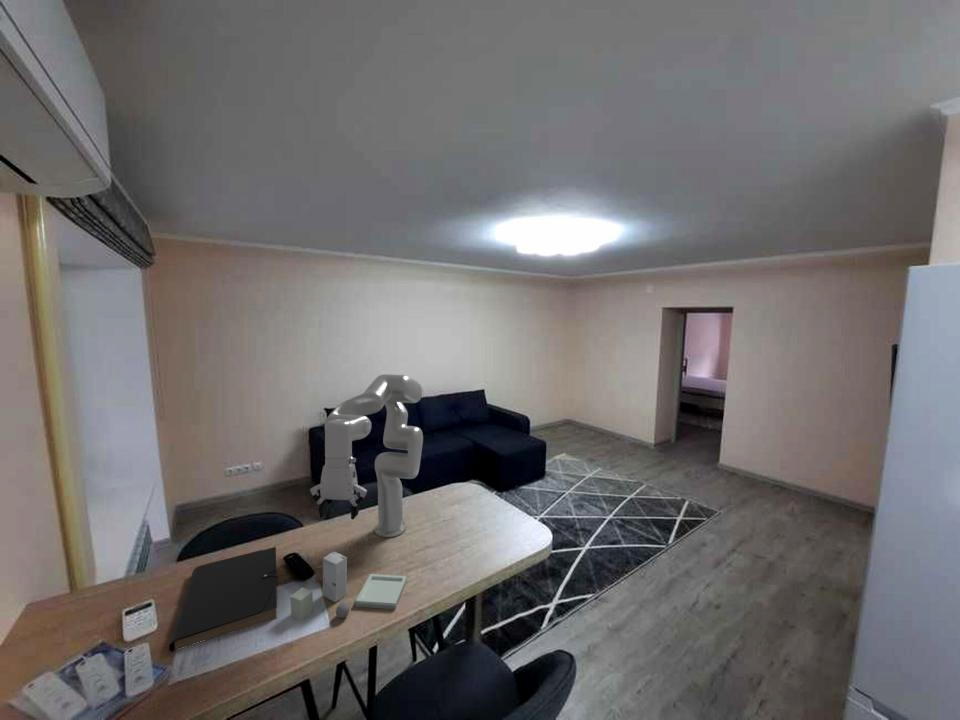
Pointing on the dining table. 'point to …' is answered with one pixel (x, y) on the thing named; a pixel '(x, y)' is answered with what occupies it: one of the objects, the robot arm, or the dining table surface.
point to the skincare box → (334, 576)
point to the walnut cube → (319, 570)
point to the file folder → (227, 597)
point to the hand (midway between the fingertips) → (338, 516)
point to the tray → (381, 591)
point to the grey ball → (342, 610)
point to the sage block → (301, 603)
